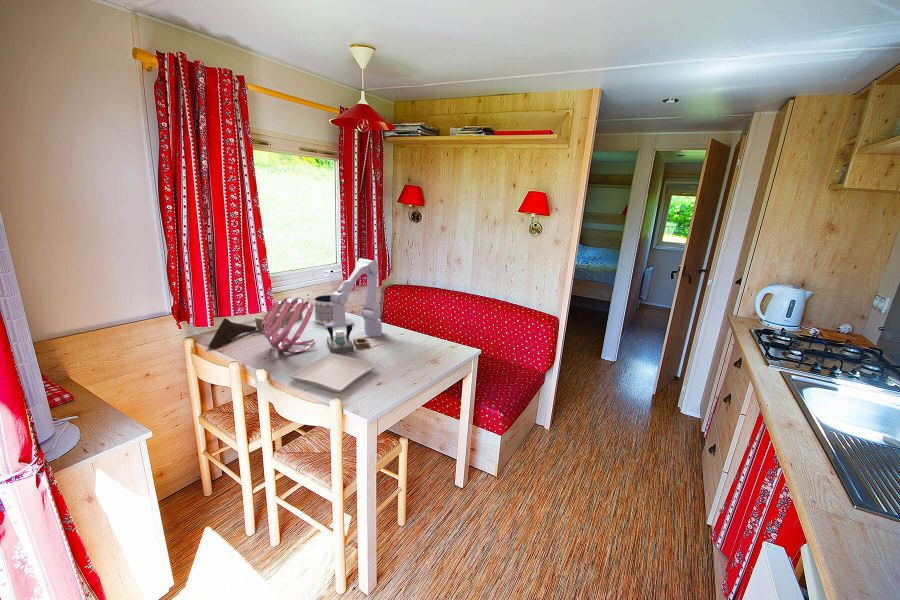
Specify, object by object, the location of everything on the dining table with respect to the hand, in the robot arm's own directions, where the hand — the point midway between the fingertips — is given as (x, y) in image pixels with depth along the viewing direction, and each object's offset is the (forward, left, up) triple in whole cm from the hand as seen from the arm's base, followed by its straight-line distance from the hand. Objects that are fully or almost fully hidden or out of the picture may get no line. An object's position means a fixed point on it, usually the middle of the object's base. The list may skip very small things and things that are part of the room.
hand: (339, 340), depth 198 cm
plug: (0, 0, -3) cm, 3 cm away
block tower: (+26, -46, -5) cm, 53 cm away
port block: (0, 0, -4) cm, 4 cm away
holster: (+50, -27, -5) cm, 57 cm away
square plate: (+8, +31, -5) cm, 32 cm away
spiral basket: (+24, -6, -4) cm, 25 cm away
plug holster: (-11, 0, -4) cm, 12 cm away
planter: (0, -45, -4) cm, 45 cm away
